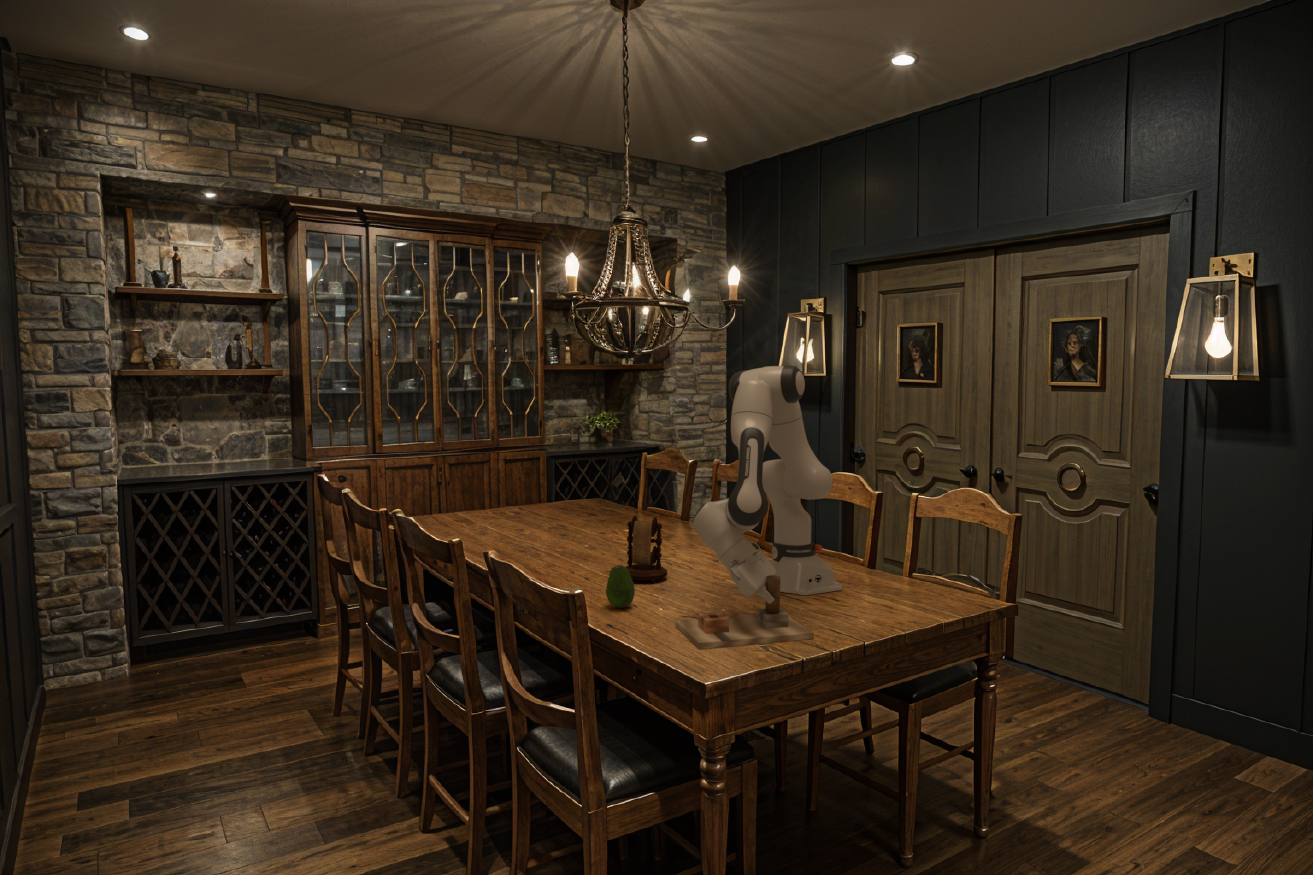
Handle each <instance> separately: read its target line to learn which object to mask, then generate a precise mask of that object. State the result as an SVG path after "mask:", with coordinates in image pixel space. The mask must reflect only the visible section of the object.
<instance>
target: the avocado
mask: <svg viewBox="0 0 1313 875" xmlns="http://www.w3.org/2000/svg"><path fill="white" fill-rule="evenodd" d="M608 575H609V576H608V579H607V583H606V588H605V589H606V590H605V594H606V599H607V600H608V602H609V604H610V605H611V606H613V607H615V608H619V609H625V608H627V607H629V606H630V605H631V604H632V603H633V601H634V597H635V594H636V591H635V583H634V580H633V579H632V578H631V576H630V574H629V572H628V570H627V568H626V566H624V565H623V564H617V565H615V566H613V567H612V568H611V569H610V572H609V574H608Z"/></svg>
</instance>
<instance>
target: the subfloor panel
mask: <svg viewBox="0 0 1313 875" xmlns="http://www.w3.org/2000/svg"><path fill="white" fill-rule="evenodd" d="M765 609H766V608H757V609H756V613H754V614H753V613H752V614H751V613H750V614H742V615H741V614H740V615H739V614H737V615H727V616H726V615H725V614H723V613H722V611H718V612H706V613H705V612H703V613H698V614H697V618H689V619H676V620H675V627H676V628H677V629H678V630H679V631H680V632H681V634H683V635H684V637H686V638H687V639H688V640H689V641H690V643H692V644H693V645H694V646H695V647H696V649H698V650H705V649H706V650H707V649H717V648H729V647H738V646H739V647H741V646H750V645H759V644H772V643H784V642H795V641H805V640H814V638H815V636H814V635H815V634H814V632H813V631H812V630H810V629H808V627H807V628H806V627H805V626H804V625H802V624H801V623H799V622H797V621H796V620H795V619H793V618H792V617H790V616H789V613H787V612H786V611H785V610H783V609H781V608H780V613H778V614H769V613H766V612H765Z"/></svg>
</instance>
